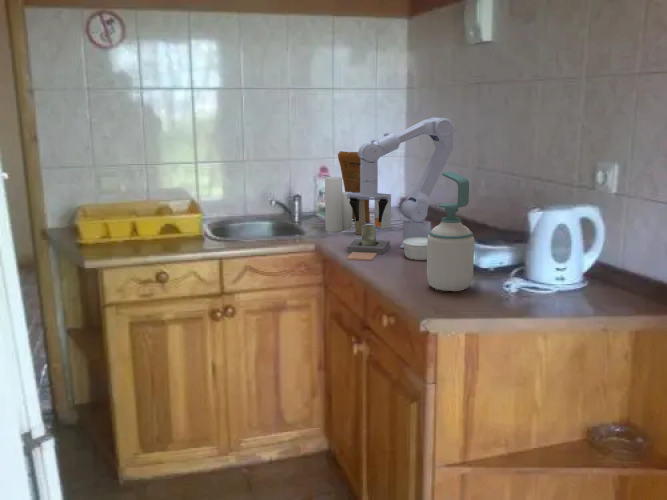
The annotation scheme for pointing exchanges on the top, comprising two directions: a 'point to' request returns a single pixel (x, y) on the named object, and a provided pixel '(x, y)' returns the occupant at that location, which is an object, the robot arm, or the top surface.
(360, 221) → the handle
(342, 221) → the pair of white cylinders
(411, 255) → the ramekin
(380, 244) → the pocket board
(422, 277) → the top surface
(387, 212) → the skincare box
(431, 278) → the soap bottle
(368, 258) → the coaster
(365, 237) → the sage block
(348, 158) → the pancake mix bag
